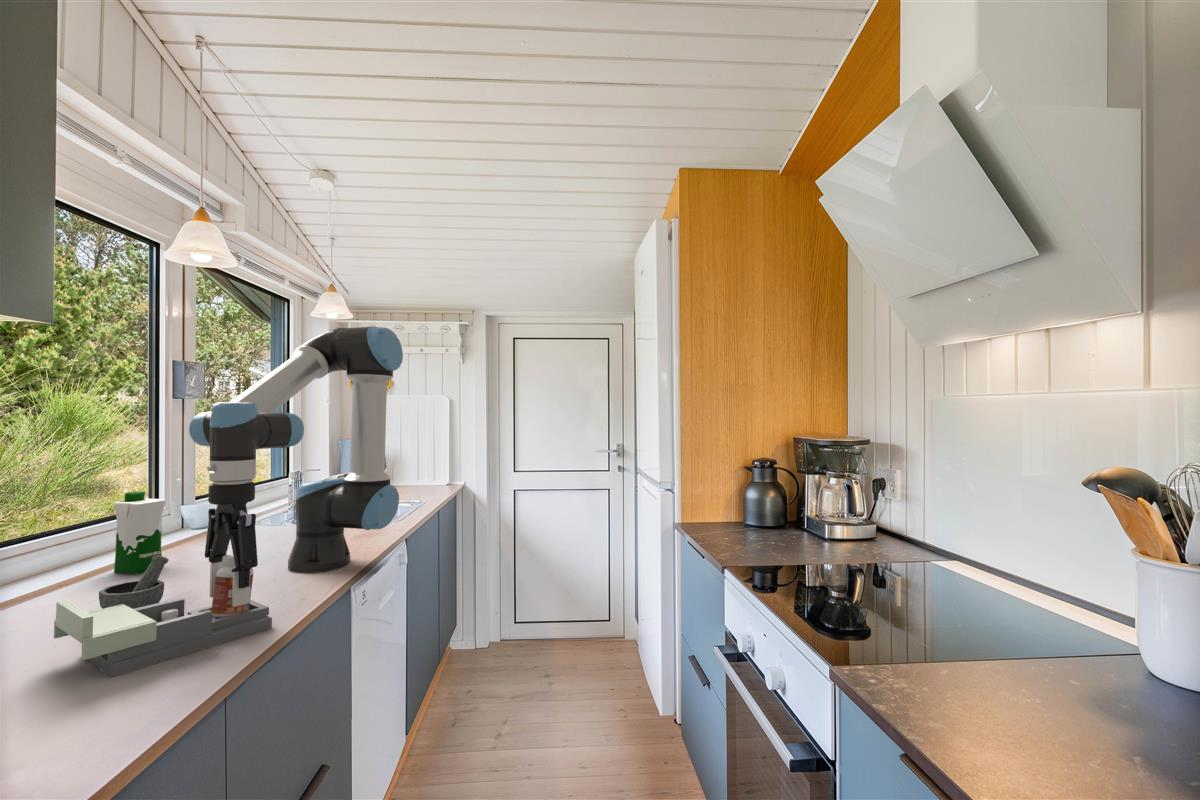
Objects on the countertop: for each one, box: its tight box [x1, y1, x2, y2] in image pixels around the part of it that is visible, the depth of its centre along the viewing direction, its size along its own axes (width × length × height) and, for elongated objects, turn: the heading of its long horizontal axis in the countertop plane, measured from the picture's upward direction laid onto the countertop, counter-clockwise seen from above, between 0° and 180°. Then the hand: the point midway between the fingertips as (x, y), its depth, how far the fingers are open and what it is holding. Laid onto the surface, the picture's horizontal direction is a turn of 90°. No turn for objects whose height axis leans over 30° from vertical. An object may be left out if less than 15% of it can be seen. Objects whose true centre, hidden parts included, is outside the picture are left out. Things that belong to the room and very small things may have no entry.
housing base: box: [81, 597, 273, 678], centre depth 101 cm, size 24×14×6 cm, turn 147°
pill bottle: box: [211, 554, 254, 618], centre depth 108 cm, size 6×6×11 cm
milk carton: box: [113, 491, 167, 575], centre depth 145 cm, size 9×9×20 cm
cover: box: [53, 599, 157, 661], centre depth 91 cm, size 9×15×6 cm, turn 57°
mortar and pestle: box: [98, 555, 170, 609], centre depth 110 cm, size 11×9×12 cm
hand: (229, 599), depth 107 cm, fingers open, 8 cm apart
